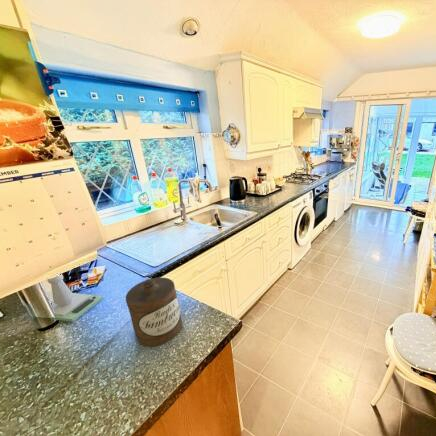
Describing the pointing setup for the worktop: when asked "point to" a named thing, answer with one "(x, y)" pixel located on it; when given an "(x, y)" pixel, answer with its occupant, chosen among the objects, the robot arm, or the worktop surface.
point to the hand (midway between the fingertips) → (57, 286)
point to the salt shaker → (60, 291)
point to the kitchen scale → (75, 307)
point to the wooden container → (154, 311)
